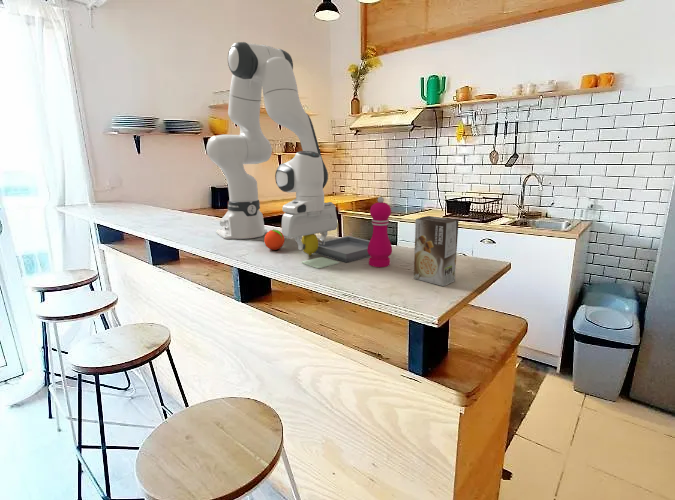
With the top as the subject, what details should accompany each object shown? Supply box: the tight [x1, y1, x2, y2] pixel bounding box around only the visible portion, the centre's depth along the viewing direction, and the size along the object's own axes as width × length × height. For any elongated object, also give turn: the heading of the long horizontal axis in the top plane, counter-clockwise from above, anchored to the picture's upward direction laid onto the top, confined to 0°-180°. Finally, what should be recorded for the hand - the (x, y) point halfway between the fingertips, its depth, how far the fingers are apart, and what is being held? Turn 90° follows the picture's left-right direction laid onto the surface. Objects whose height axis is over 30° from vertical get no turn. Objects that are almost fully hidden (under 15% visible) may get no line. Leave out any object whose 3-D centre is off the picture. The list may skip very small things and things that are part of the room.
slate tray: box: [314, 235, 371, 263], centre depth 125 cm, size 18×18×3 cm
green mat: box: [301, 256, 340, 269], centre depth 113 cm, size 8×8×1 cm
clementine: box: [263, 229, 286, 251], centre depth 128 cm, size 8×7×7 cm
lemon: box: [301, 234, 319, 256], centre depth 121 cm, size 6×6×8 cm
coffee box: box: [413, 215, 460, 287], centre depth 96 cm, size 9×6×16 cm
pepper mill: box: [367, 196, 393, 268], centre depth 109 cm, size 7×7×20 cm
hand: (311, 247), depth 121 cm, fingers open, 7 cm apart
